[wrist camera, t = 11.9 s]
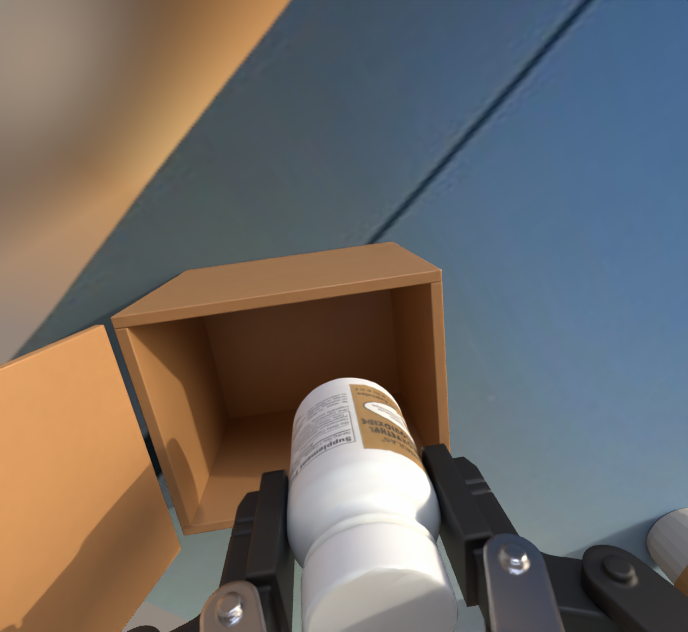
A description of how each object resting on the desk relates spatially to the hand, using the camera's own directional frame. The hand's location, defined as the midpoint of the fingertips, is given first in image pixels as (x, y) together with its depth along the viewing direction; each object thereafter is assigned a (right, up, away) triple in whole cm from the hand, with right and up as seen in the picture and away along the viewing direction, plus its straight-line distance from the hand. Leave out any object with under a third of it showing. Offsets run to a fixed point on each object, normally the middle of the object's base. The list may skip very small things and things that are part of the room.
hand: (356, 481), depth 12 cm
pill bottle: (0, +1, +3) cm, 4 cm away
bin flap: (-9, -1, 0) cm, 9 cm away
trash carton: (-3, +4, +13) cm, 14 cm away
